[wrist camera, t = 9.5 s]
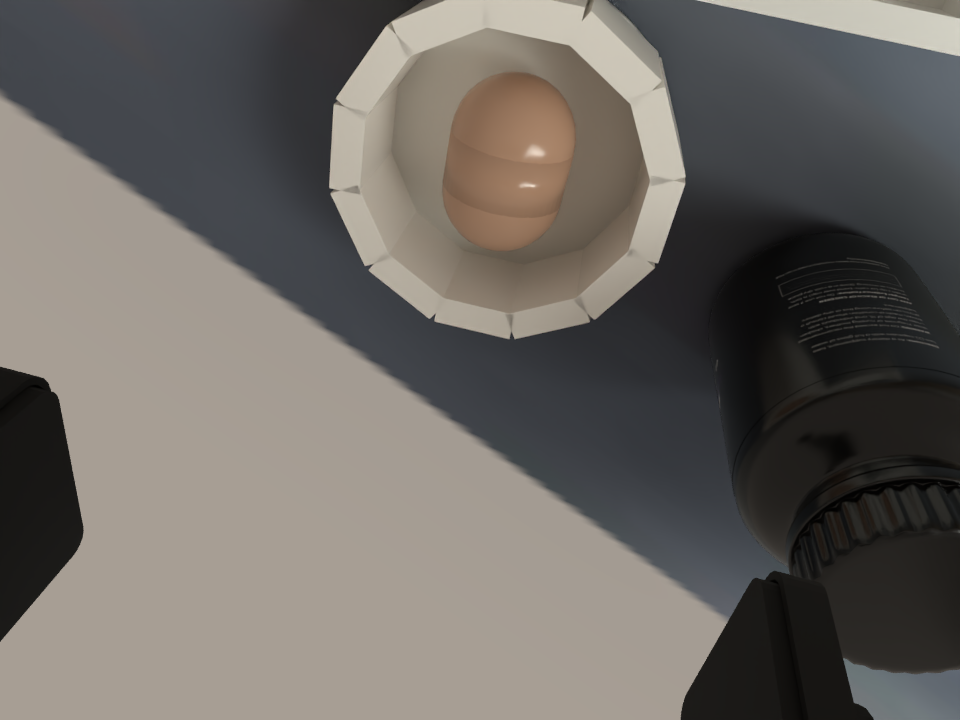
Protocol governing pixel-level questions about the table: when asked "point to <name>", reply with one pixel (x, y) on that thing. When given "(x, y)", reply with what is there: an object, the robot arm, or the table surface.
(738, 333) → the supplement bottle
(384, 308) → the table surface
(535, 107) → the pebble
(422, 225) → the bowl
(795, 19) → the parts tray
